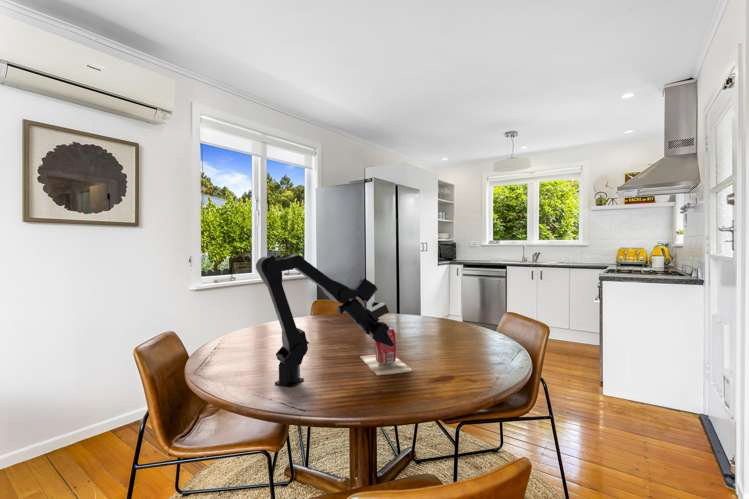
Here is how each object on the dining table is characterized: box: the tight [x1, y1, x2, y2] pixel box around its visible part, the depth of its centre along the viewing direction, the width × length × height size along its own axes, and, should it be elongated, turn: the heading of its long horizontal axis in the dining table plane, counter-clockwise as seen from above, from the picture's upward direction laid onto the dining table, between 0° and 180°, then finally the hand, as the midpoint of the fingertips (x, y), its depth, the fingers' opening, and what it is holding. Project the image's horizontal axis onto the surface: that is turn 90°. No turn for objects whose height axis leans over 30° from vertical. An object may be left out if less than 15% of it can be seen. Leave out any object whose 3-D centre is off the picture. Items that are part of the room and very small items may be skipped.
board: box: [359, 354, 413, 376], centre depth 131 cm, size 20×12×1 cm, turn 18°
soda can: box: [374, 325, 397, 365], centre depth 129 cm, size 7×7×12 cm
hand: (389, 342), depth 129 cm, fingers closed on soda can, 7 cm apart
